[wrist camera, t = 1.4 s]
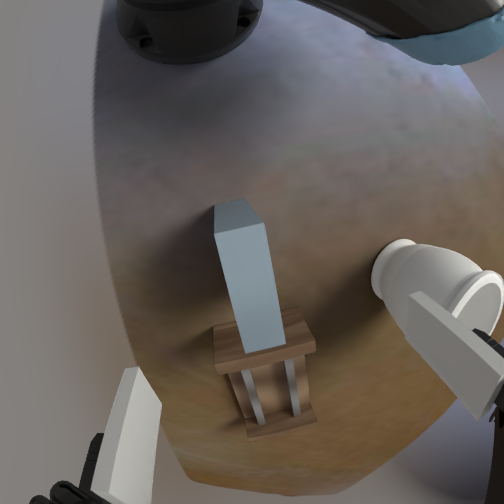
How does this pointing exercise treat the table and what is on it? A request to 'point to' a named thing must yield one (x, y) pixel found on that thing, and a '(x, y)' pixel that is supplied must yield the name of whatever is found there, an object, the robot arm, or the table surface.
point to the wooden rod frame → (269, 377)
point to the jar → (437, 283)
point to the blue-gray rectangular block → (248, 274)
